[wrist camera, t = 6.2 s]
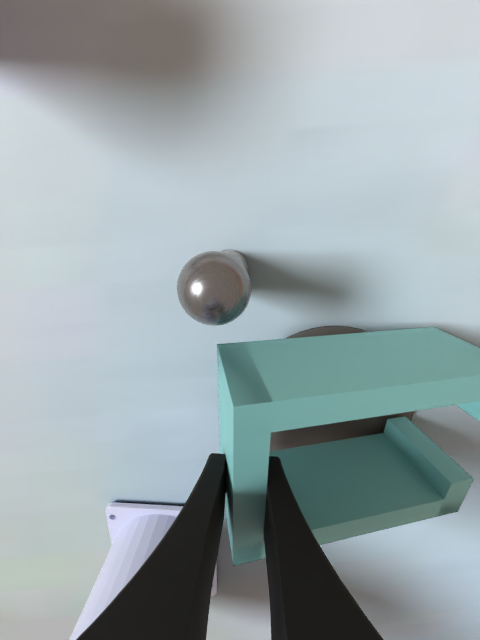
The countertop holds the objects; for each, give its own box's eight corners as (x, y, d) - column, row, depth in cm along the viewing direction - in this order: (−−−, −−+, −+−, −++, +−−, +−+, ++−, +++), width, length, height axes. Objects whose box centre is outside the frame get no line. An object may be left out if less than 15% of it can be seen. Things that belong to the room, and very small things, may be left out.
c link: (396, 444, 16) (457, 511, 13) (220, 475, 14) (233, 565, 11) (433, 326, 13) (527, 369, 10) (217, 344, 11) (233, 406, 8)
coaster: (394, 470, 17) (397, 475, 17) (243, 463, 18) (243, 468, 17) (429, 328, 14) (434, 330, 14) (246, 323, 15) (246, 325, 14)
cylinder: (251, 292, 14) (250, 337, 8) (207, 291, 14) (170, 335, 8) (252, 246, 13) (251, 254, 7) (205, 245, 14) (163, 252, 7)
